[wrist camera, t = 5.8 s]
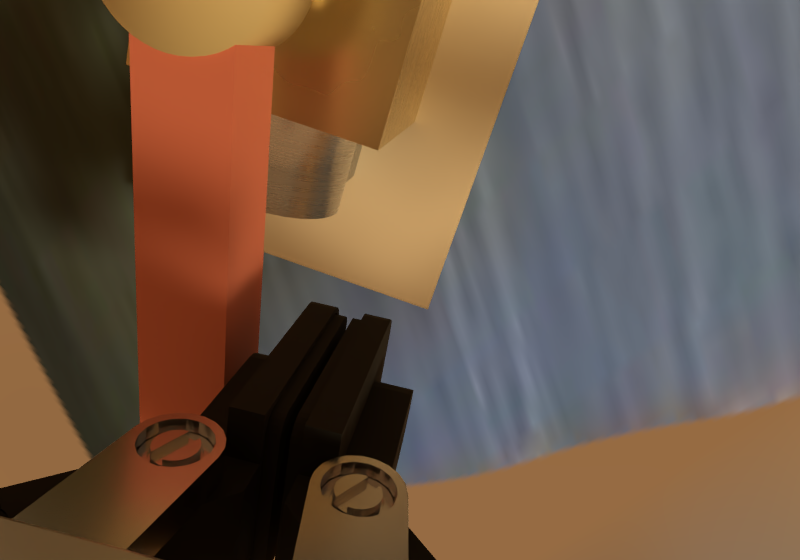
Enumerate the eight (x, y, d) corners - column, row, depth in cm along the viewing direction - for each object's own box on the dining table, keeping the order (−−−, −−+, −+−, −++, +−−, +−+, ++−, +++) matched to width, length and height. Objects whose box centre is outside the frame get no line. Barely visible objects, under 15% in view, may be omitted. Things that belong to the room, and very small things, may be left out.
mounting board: (257, -387, 15) (232, -431, 14) (634, -270, 15) (648, -304, 13) (165, 199, 21) (142, 209, 20) (432, 292, 21) (427, 309, 20)
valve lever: (150, -149, 9) (73, -193, 8) (325, -128, 9) (285, -170, 7) (159, 486, 14) (113, 546, 12) (276, 514, 14) (244, 577, 12)
